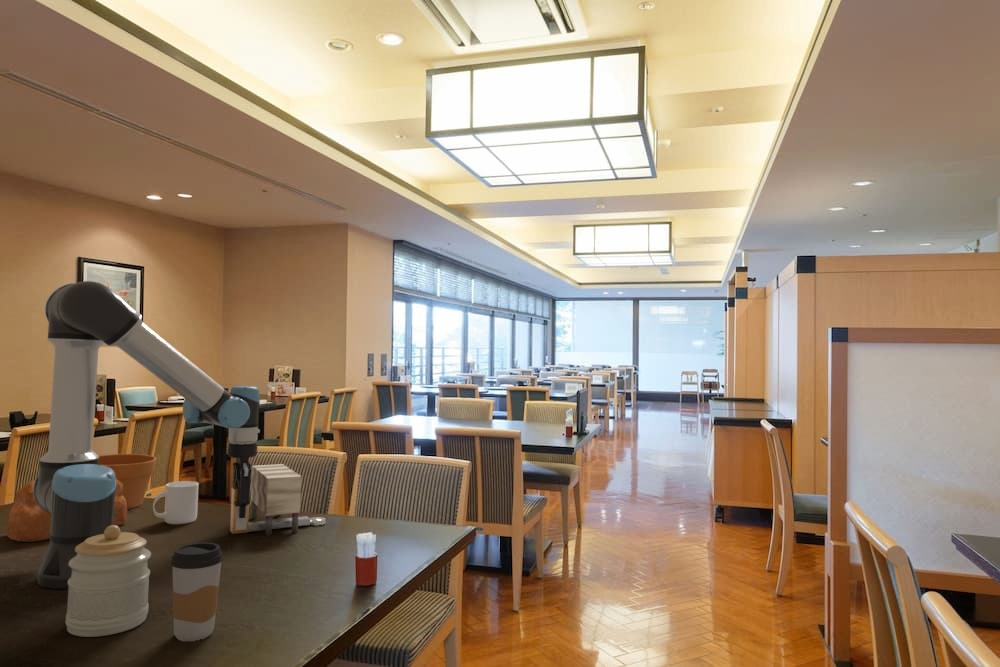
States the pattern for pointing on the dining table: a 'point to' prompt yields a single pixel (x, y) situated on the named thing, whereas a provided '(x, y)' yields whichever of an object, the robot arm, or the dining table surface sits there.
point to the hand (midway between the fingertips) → (239, 527)
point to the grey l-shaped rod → (259, 524)
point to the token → (317, 521)
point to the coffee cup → (195, 589)
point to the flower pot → (131, 474)
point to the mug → (179, 502)
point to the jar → (108, 584)
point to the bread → (46, 515)
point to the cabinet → (275, 493)
